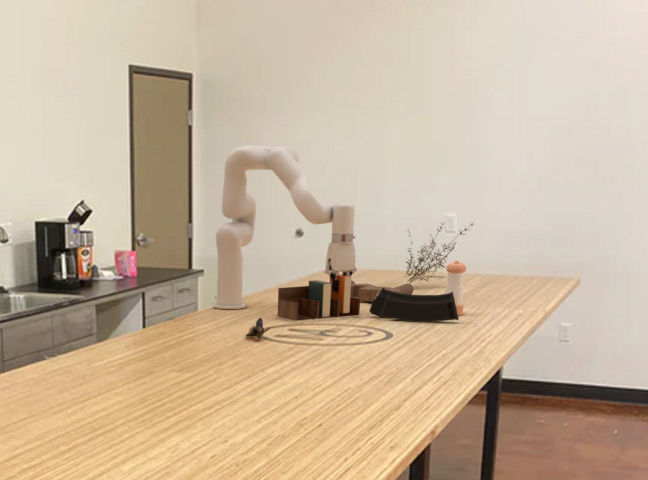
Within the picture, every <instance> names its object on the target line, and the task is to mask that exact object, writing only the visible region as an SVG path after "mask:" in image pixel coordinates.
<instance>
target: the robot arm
mask: <svg viewBox="0 0 648 480" xmlns="http://www.w3.org/2000/svg"><path fill="white" fill-rule="evenodd" d="M299 158H300V157H299V154H298V152H297V150H296V149H295V148H293V147H292V146H287V145H286V146H285V145H283V146H273V145H242V146H239V147H236V148H235V149H233V150H232V151H231V152H230V153H229V154H228V155H227V157H226V159H225V163H224V171H223V172H224V175H223V184H222V185H223V188H222V199H221V213H222V215H223V216H224V217H225V218H227V219H229V220H230V219H231V222H226V223H224V224H222V225H220V226H219V227H218V228H217V231H216V233H215V244H216V252H217V282H216V283H217V284H216V285H217V286H216V287H217V291H216V292H217V293H216V295H215V296H214V299H215V300H216V302H215V303H213V304H212V308H214V309H220V310H238V309H239V310H240V309H245V308H246V307H247V304H246V303H244V302H243V272H244V271H243V270H244V269H243V267H244V266H243V265H244V264H243V263H244V259H243V252H242V247H246V246H248V245H249V244H250V243H251V242H252V241H253V238H254V234H255V223H256V213H257V204H256V200H255V198H254V196H253V195H252V194H250V192H247V182H248V181H247V180H248V179H247V175H246V172H247V171H254V170H256V171H257V170H261V171H263V170H265V171H267V170H268V171H272V172H273V173H274V175H275V176H276V177H277V179H279V180H280V181H281V184H283V185H284V187H285V188H286V189H287V190H288V192H289V194H290V197H291V199H292V201H293V204H294V206H295V208H296V209H297V210H298V212H300V214H301V215H302V216H303V217H304V218H305V219H306V220H307V222H308V223H310V224H312V225H325V224H330V223H331V241H330V242H329V243H328V246H327V251H326V257H325V270H324V274H326V275H327V276H329V279H330V278H331V280H332V291H335V292H338V291H339V280H338V275H339V274H340V272H342V274H341V275H346V276H351V277H352V276H353V274H355V273H356V272H357V268H356V246H355V242H354V239H356V235H355V234H354V227H355V205H354V203H352V202H333V201H319V200H318V199H317V197H315V195H314V194H313V193H312V191H311V190H310V187H309V182H308V181H309V174H308V173H307V171H305V170H304V168H303V167H302V166H301V165H300V163H299V160H300V159H299Z"/></svg>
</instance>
